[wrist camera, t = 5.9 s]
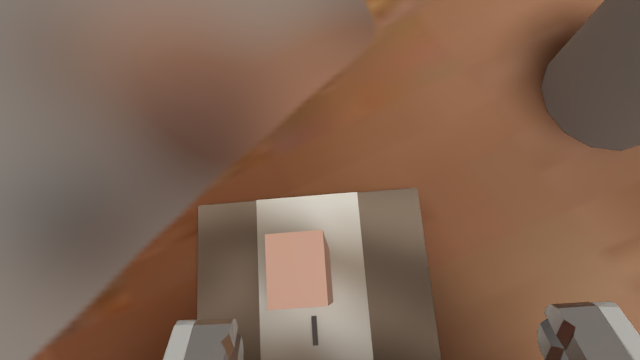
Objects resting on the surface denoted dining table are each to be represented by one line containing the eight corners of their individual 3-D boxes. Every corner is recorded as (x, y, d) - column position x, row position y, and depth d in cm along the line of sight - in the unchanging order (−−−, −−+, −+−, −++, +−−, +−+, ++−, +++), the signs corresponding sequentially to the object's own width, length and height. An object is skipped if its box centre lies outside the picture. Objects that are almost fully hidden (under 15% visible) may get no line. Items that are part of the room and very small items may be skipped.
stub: (333, 302, 24) (327, 305, 16) (292, 304, 24) (267, 310, 16) (329, 250, 24) (322, 229, 17) (289, 252, 25) (265, 234, 17)
